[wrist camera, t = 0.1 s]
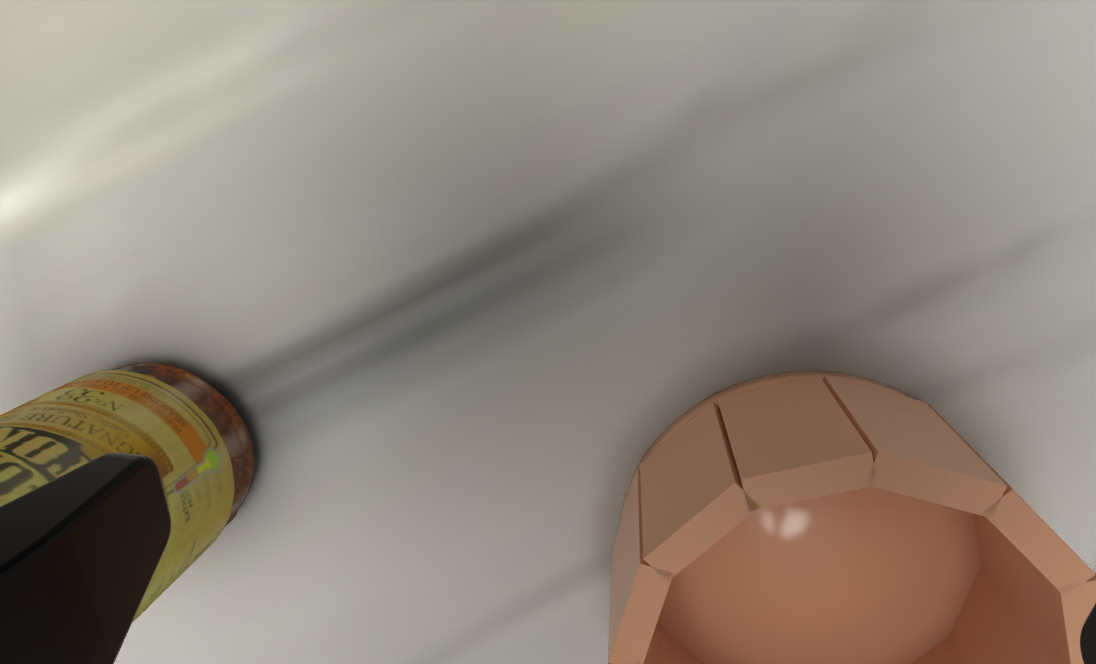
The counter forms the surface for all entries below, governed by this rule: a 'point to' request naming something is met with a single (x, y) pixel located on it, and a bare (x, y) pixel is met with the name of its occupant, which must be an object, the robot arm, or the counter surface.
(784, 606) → the bowl
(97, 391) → the sauce bottle
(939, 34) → the counter surface
